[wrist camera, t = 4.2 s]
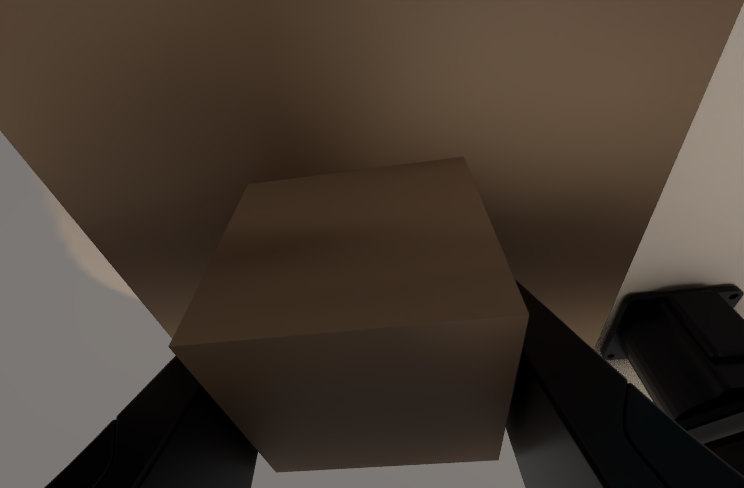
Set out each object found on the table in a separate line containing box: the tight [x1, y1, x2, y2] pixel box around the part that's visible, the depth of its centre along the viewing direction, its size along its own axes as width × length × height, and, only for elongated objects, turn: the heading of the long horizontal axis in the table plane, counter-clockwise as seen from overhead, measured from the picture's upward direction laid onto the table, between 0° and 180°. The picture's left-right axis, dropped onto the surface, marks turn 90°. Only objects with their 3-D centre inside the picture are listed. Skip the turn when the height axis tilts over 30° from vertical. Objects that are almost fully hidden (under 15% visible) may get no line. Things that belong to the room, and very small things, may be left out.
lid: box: [0, 0, 744, 472], centre depth 8 cm, size 13×13×5 cm
